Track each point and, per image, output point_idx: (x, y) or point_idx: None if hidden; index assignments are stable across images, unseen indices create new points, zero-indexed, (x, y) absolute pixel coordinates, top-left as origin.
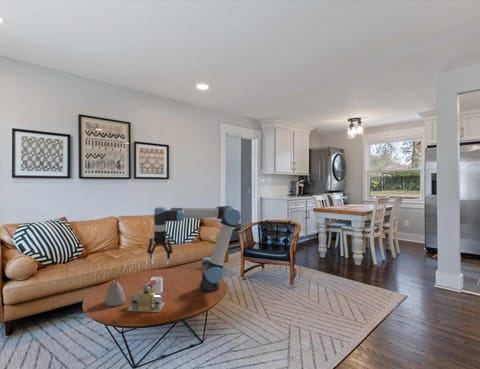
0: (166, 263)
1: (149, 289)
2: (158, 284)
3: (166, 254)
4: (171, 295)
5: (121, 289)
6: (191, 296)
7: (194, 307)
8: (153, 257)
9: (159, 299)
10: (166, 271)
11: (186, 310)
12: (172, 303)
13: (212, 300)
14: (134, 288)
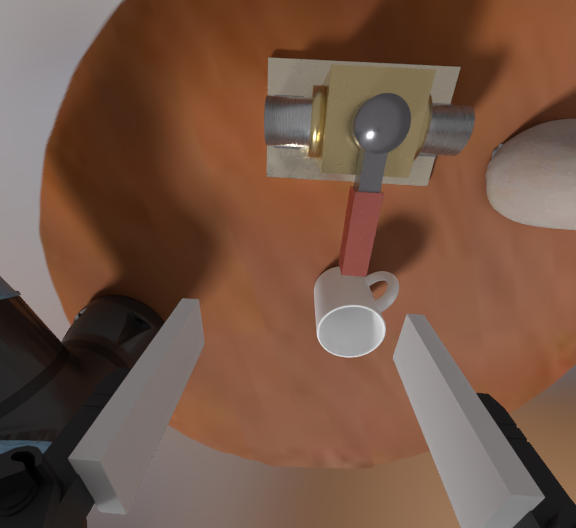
0: (188, 308)
1: (354, 119)
2: (331, 295)
3: (107, 476)
4: (263, 261)
5: (566, 182)
6: (168, 252)
7: (101, 132)
8: (433, 426)
9: (269, 96)
10: (345, 451)
11: (126, 92)
12: (229, 176)
13: (54, 214)
14: (451, 325)
